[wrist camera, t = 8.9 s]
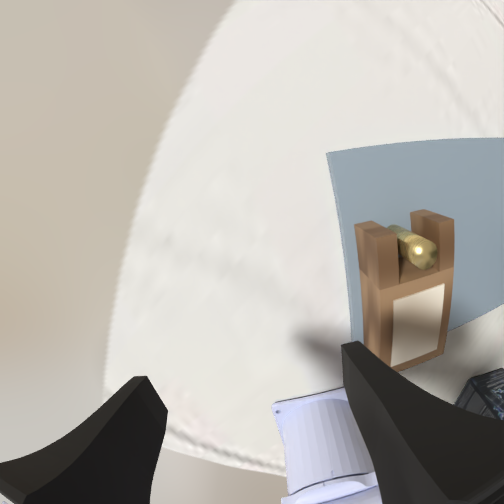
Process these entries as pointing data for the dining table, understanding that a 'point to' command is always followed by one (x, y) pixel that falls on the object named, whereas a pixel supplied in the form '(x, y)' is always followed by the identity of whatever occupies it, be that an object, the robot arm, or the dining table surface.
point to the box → (484, 395)
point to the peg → (414, 247)
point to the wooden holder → (405, 291)
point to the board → (433, 199)
